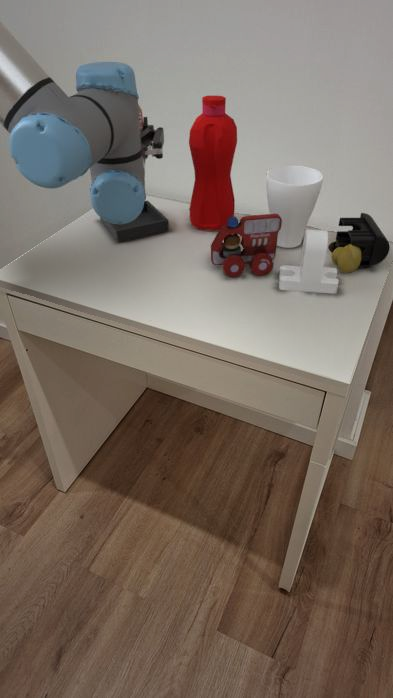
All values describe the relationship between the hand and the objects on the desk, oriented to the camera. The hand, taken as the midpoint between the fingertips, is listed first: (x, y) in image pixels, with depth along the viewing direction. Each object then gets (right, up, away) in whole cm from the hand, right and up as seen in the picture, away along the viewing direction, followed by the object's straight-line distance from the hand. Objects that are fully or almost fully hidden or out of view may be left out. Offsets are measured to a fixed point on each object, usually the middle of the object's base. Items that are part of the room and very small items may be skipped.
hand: (126, 125), depth 95 cm
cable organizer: (+34, -33, -10) cm, 48 cm away
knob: (+41, -29, -6) cm, 51 cm away
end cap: (+45, -27, -2) cm, 52 cm away
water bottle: (+17, -17, +10) cm, 26 cm away
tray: (0, -18, +9) cm, 20 cm away
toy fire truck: (+23, -29, -5) cm, 37 cm away
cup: (+32, -23, +3) cm, 39 cm away
